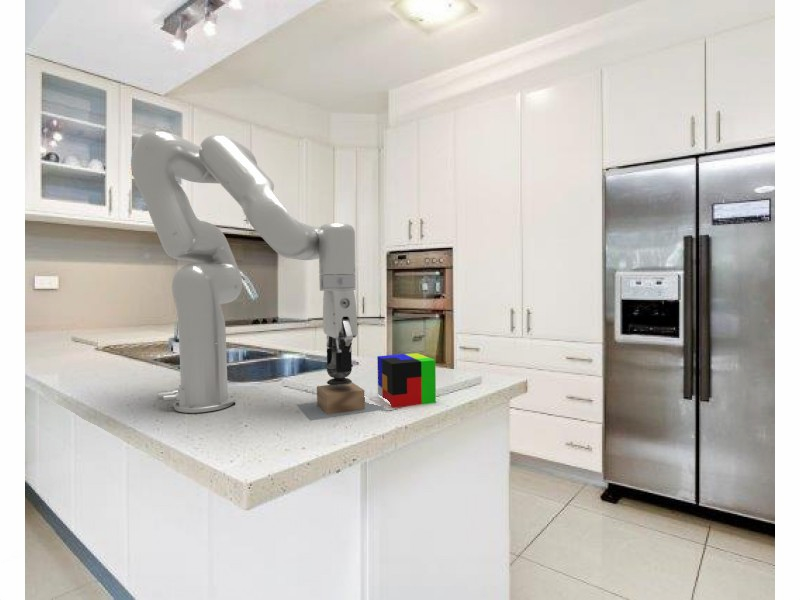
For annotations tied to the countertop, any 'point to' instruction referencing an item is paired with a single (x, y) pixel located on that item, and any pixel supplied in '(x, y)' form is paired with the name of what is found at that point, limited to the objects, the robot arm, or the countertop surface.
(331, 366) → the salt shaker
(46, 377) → the countertop surface
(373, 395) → the countertop surface
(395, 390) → the puzzle toy
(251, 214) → the robot arm
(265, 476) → the countertop surface
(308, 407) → the slate mat
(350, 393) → the base block
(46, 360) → the countertop surface
